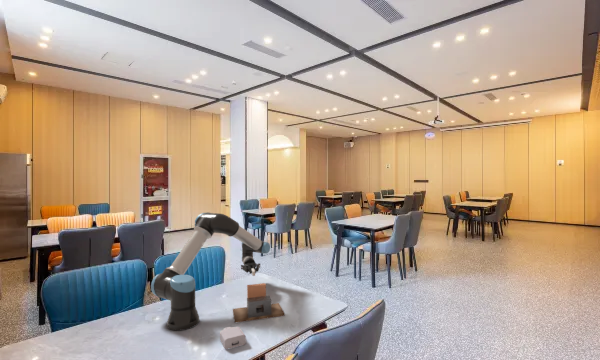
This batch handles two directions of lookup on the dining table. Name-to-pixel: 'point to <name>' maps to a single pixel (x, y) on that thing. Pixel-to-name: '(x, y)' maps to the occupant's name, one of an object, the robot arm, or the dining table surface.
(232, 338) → the charger
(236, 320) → the base board
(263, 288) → the orange block
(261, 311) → the socket
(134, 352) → the dining table surface
